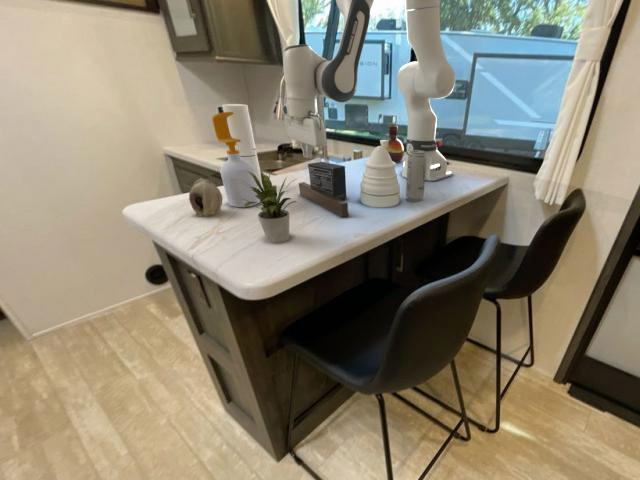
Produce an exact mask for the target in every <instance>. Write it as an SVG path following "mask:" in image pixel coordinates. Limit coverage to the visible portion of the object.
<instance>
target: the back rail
mask: <svg viewBox="0 0 640 480" xmlns="http://www.w3.org/2000/svg"><path fill="white" fill-rule="evenodd" d="M298 189H299V196H301V197H303V198H304V199H307V200H308V201H310V202H312V203H314V204H316V205H318V206H320V207H322V208H324V209H325V210H327V211H329V212H331V213H333V214H335V215H337V216H338V217H341V218H347V217H349V203H348V202H347V201H345V200H341V199H338V198H336V197H334V196H332V195H330V194H328V193H326V192H324V191H322V190H319V189H317V188H315V187H313V186H311V185H310V183H307V182H304V181H303V182H298Z"/></svg>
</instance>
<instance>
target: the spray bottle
mask: <svg viewBox="0 0 640 480" xmlns="http://www.w3.org/2000/svg"><path fill="white" fill-rule="evenodd" d="M232 114H234V113H233V112H224V111H222V112H218V113H215V114H214V115H213V116H212V119H211V120H212V121H211V122H212V124H213V128H214V133H215V137H216V139H217V141H219V142H221V143H225V146H227V147H228V150H226V156H227V160H226V161H225V162H224V163H223V164H222V165H221V166H220V169H219V172H220V176H221V179H222V184H223V188H224V192H225V196H226V199H227V203H228V205H230V206H231V207H234V208H235V207H236V208H243V207H244V205H245V204H246V203H247V202H248V201H249V202H257V203H252V204H250V205H247V206H246V207H244V208H248V207H249V208H250V207H253V206H254V205H255V206H257V205H259V204H258V203H260V202H261V201H260V199H258V198H257V197H255V195H258V194H257V193H256V192H255V193H254V192H253V191H252V190H251V189H253V188H251V187H255V188H257V189H258V187H257V184H256V182H255V180H254V178H253V177H252V175H251V174H250V173H249V172H251V173H253V174H254V175H255V172H254V169H253V167H252V165H250V164H249V163H247V162H245V161H243V160H242V159H241V157H240V153H239V150H236V149H235V145H236V142H240V141H241V140H239V139H234V138H232V137H231V135H230V131H229V127H228V122H227V117H228V116H230V115H232ZM248 171H249V172H248ZM234 179H238V180H234ZM240 180H241V181H240ZM243 181H244V182H243ZM245 182H246V183H245ZM240 183H242V184H240ZM244 184H245V185H244ZM248 184H249V185H248ZM246 185H247V186H246ZM246 187H247V188H246ZM250 188H251V189H250ZM243 199H245V200H243ZM246 200H248V201H246ZM253 204H254V205H253ZM255 206H254V207H255Z"/></svg>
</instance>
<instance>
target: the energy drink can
mask: <svg viewBox="0 0 640 480" xmlns="http://www.w3.org/2000/svg"><path fill="white" fill-rule="evenodd" d="M426 160H427V157H426V155H425V151H422V150H411V151H410V154H409V155H408V163H407V178H406V183H405V185H406V186H405V187H406V188H405V197H406V198H407V201H410V202H421V201H422V199H423V198H424V197H425V184H426V180H425V173H426Z"/></svg>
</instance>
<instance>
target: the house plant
mask: <svg viewBox="0 0 640 480" xmlns="http://www.w3.org/2000/svg"><path fill="white" fill-rule="evenodd" d="M272 171H273V170H272V169H270V171H269V174H268V175H267V174H265V173H264V172H263V170H260V172H261V181H262V185H263V188H262V186H261V184H260V182H259V180H258V179H257V177H256V176H255V175H254V174H253V173H251V172H249V171H248V172H249V173H250V174H251V175H252V177H253V178H254V180H255V182H256V184H257V185H258V187H259V188H260V189H259V190H258V189H257V188H255V187H251V188H253V189H251V188H250V189H251V190H252V191H253V192H254V193H255V192H256V193H257V194H258V195H255V197H257V198H258V199H260V202H261V203H262V204H261V203H260V202H259V203H258V204H257V205H258V206H257V205H254V204H253V205H254V207H256V208H258V209H259V210H261V211H260V212H258V214H257V217H258V220H259V224H260V226H261V228H262V230H263V234H264V236H265V238H266V240H267V242H268V243H273V244H279V243H285V242H286V241H289V239H290V211H289V210H287V209H286V208H287V207H288V206H289V205H290V204H292V203H298V204H299V202H298V201H296V200H293V201H290V202H289V203H288V204H286V205H285V203H286V202H287V201H289V200H292V198H291V197H284V198H282V196H283V195H284V194H285V193H286V192H287V193H289V191H287V190H286V189H287V187H285V188H284V190H283V187H284V185H285V183H286V180H287V177H285V178H284V180H283V182H282V184H281V186H280V189H279V192H278V191H277V185H273V183H272V181H271V179H270V176H271V172H272ZM234 180H238V179H234ZM297 180H298V178H295V179H293V180H291V181H290V182H289V183H288V184H287V186H290V184H292V182H294V181H297ZM240 181H241V180H240ZM243 182H244V181H243ZM245 183H246V182H245ZM240 184H242V183H240ZM244 185H245V184H244ZM248 185H249V184H248ZM246 186H247V185H246ZM246 188H247V187H246ZM282 190H283V191H282ZM281 198H282V199H281ZM243 200H245V199H243ZM246 201H248V200H246ZM252 203H257V202H249V201H248V202H247V203H246V204H245V205H244V207H242V209H244V208H247V207H246V206H247V205H250V204H252ZM284 205H285V206H284ZM260 206H261V207H260ZM283 206H284V207H283ZM282 208H283V209H282Z"/></svg>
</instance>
